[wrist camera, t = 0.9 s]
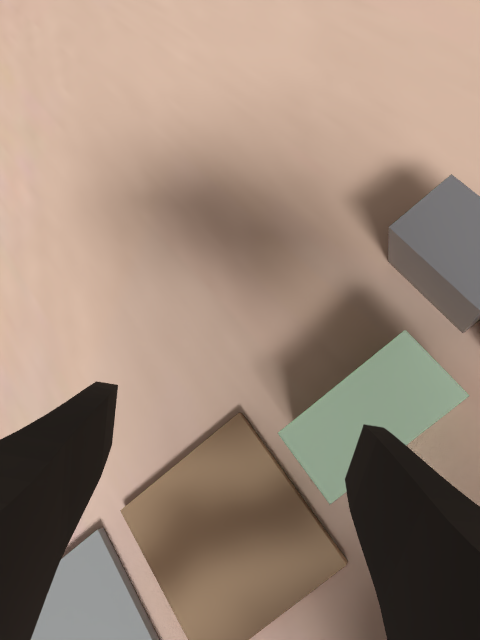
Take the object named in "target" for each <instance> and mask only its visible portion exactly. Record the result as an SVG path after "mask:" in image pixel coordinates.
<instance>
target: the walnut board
mask: <svg viewBox="0 0 480 640" xmlns="http://www.w3.org/2000/svg"><path fill="white" fill-rule="evenodd" d="M120 511H121V513H122V515H123V517H124V518H125V520H126V522H127V524H128V526H129V528H130V530H131V532H132V534H133V536H134V538H135V539H136V541H137V543H138V545H139V547H140V549H141V551H142V553H143V555H144V557H145V558H146V560H147V562H148V564H149V566H150V568H151V570H152V572H153V574H154V576H155V577H156V579H157V581H158V583H159V585H160V587H161V589H162V591H163V593H164V595H165V596H166V598H167V600H168V602H169V604H170V606H171V608H172V610H173V612H174V614H175V616H176V617H177V619H178V621H179V623H180V625H181V627H182V629H183V631H184V633H185V635H186V636H187V638H188V640H249V639H250V638H251V637H253V636H254V635H255V634H257V633H258V632H259V631H261V630H262V629H263V628H264V627H266V626H267V625H268V624H270V623H271V622H272V621H274V620H275V619H276V618H278V617H279V616H280V615H282V614H283V613H284V612H286V611H287V610H288V609H290V608H291V607H292V606H293V605H295V604H296V603H297V602H299V601H300V600H301V599H303V598H304V597H305V596H307V595H308V594H309V593H311V592H312V591H313V590H315V589H316V588H317V587H318V586H320V585H321V584H322V583H324V582H325V581H326V580H328V579H329V578H330V577H332V576H333V575H334V574H336V573H337V572H338V571H340V570H341V569H342V568H343V567H345V566H346V565H347V563H348V561H347V560H346V558H345V557H344V556H343V554H342V553H341V551H340V550H339V549H338V547H337V546H336V544H335V543H334V542H333V540H332V539H331V537H330V536H329V535H328V533H327V532H326V530H325V529H324V528H323V526H322V525H321V523H320V522H319V520H318V519H317V518H316V516H315V515H314V513H313V512H312V511H311V509H310V508H309V506H308V505H307V504H306V502H305V501H304V499H303V498H302V497H301V495H300V494H299V492H298V491H297V490H296V488H295V487H294V485H293V484H292V483H291V481H290V480H289V478H288V477H287V476H286V474H285V473H284V471H283V470H282V469H281V467H280V466H279V464H278V463H277V461H276V460H275V459H274V457H273V456H272V454H271V453H270V452H269V450H268V449H267V447H266V446H265V445H264V443H263V442H262V440H261V439H260V438H259V436H258V435H257V433H256V432H255V431H254V429H253V428H252V426H251V425H250V424H249V422H248V421H247V419H246V418H245V417H244V415H243V414H242V413H238V414H237V415H235V416H234V417H233V418H232V419H231V420H229V421H228V422H227V423H226V424H225V425H223V426H222V427H221V428H220V429H219V430H217V431H216V432H215V433H214V434H212V435H211V436H210V437H209V438H208V439H206V440H205V441H204V442H203V443H202V444H200V445H199V446H198V447H197V448H195V449H194V450H193V451H192V452H191V453H189V454H188V455H187V456H186V457H185V458H183V459H182V460H181V461H180V462H179V463H177V464H176V465H175V466H174V467H172V468H171V469H170V470H169V471H168V472H166V473H165V474H164V475H163V476H162V477H160V478H159V479H158V480H157V481H155V482H154V483H153V484H152V485H151V486H149V487H148V488H147V489H146V490H145V491H143V492H142V493H141V494H140V495H139V496H137V497H136V498H135V499H134V500H132V501H131V502H130V503H129V504H128V505H126V506H125V507H124V508H123V509H122V510H120Z"/></svg>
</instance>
